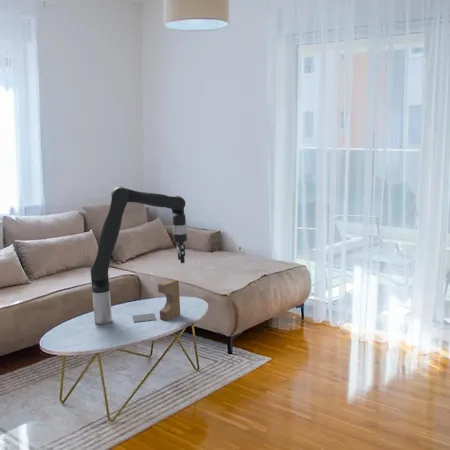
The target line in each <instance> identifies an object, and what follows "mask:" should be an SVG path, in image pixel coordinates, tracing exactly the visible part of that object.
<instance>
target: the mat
mask: <svg viewBox="0 0 450 450" xmlns="http://www.w3.org/2000/svg"><path fill="white" fill-rule="evenodd" d="M132 319H133V323H134V324H135V323H142V322H143V323H144V322H151V321H157V317H156V315H155V313H154V312H153V313H144V314H135V315H132Z"/></svg>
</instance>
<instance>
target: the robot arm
mask: <svg viewBox="0 0 450 450" xmlns="http://www.w3.org/2000/svg"><path fill="white" fill-rule="evenodd" d="M128 203H134V204H135V203H137V204H142V205H146V206H151V207H156V208H167V209H171V213H172V237H173V239H172V240H173V242H175V243H176V253H177V259H178V260H179V261H180V264H185V260H186V259H185V256H186V250H185V249H186V246H185V244H184V243H185V242H187V241H188V235H187V232H188V230H187V222H186V221H187V220H186V214H185V207H186V200H185V199H184V198H183V197H182V196H181V195H180V196H179V195H175V196H171V195H170V196H169V195H167V194H162V193H154V192H146V191H145V192H144V191H137V190H134V189H133V190H132V189H130V188H127V187H124V186H119V185H118V186H116V187H114V188H113V189H112V191H111V200H110V206H109V210H108V214H107V216H106V218H105V220H104V223H103V225H102V227H101V231H100V234H99V240H98V245H97V246H98V247H97V254H96V256H95V260H94V262H93V263H92V264H91V266H90V279H91V280H90V281H91V282H90V283H91V293H92V303H93V305H92V306H93V316H94V324H95V325H96V324H98V325H104V324H105V325H106V324H108V323H111V322H112V321H113V316H112V304H111V303H112V302H111V292H110V291H111V288H110V281H109V280H110V279H109V268H110V261H111V257H112V255H113V253H114V249H115V247H116V244H117V242H118V238H119V235H120V230H121V225H122V220H123V215H124V213H125V209H126V207H127V205H128Z"/></svg>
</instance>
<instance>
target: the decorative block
mask: <svg viewBox="0 0 450 450" xmlns="http://www.w3.org/2000/svg"><path fill="white" fill-rule="evenodd" d="M179 282H180V281H179V280H178V279H169V280H165V281H163V282H159V283H158V284H157V288H158V289H157V290H158V291H157V292H158V293H160V294H164V296H165V298H166V301H165V305H164V306H163V307H162V309H160V310H159V320H163V321H170V320H172V319H175V318H177V317H180V316H181V303H180V301H181V300H180V299H181V298H180V286H179Z"/></svg>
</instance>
